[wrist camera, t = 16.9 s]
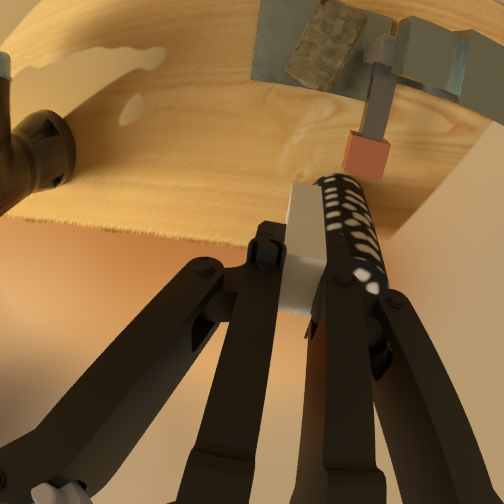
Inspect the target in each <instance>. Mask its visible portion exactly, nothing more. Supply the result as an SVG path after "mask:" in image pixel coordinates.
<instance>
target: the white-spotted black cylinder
mask: <svg viewBox="0 0 504 504" xmlns="http://www.w3.org/2000/svg"><path fill="white" fill-rule="evenodd" d="M313 185H316V186H321V190H322V201H323V212H324V225H325V231H328V232H333V233H338V234H342V235H343V236H344V238H345V239H346V240H347V242H348V250H349V255H350V261H351V267H352V273H353V274H354V275H355V276H356V277H357V278H358V280H359V282H360V287H362V288H363V289H365V290H366V291H368V292H371V293H373V294H376V295H379V293H380V292H381V291H382V290H385V289H389V282H388V278H387V273H386V270H385V265H384V261H383V258H382V254H381V250H380V246H379V243H378V239H377V235H376V232H375V228H374V225H373V222H372V218H371V215H370V212H369V208H368V205H367V202H366V199H365V196H364V193H363V190H362V188H361V186H360V185H359V184H358V183H357V181H355V180H354V179H353V178H351V177H349V176H347V175H343V174H329V175H326V176H323V177H321V178H320V179H318V180H317V181H316V182H315V183H314V184H313ZM310 314H311V315H312V309H311V312H310Z"/></svg>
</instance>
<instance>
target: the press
mask: <svg viewBox="0 0 504 504" xmlns="http://www.w3.org/2000/svg"><path fill="white" fill-rule="evenodd" d="M318 2H319V0H261V5H260V12H259V19H258V26H257V34H256V41H255V49H254V56H253V64H252V72H251V80H258V81H265V82H272V83H279V84H285V85H291V86H297V87H303V88H308V87H306V86H304V85H302V84H301V83H300V82H299V81H297V80H296V79H294V78H293V77H292V76H291V75H290V74H288V73H287V72H286V71H285V67H286V64H287V62H288V60H289V58H290V56H291V54H292V52H293V50H294V48H295V46H296V45H297V43H298V41H299V39H300V37H301V35H302V33H303V31H304V29H305V27H306V25H307V23H308V21H309V19H310V17H311V15H312V13H313V11H314V9H315V7H316V6H317V4H318ZM356 9H357V8H356ZM358 10H360V11H362V12H363V13H365V14H366V16H367V19H368V21H367V23H366V25H365V27H364V29H363V31H362V33H361V35H360V37H359V39H358V41H357V43H356V45H355V47H354V48H353V50H352V52H351V54H350V56H349V57H348V59H347V61H346V62H345V64H344V66H343V68H342V70H341V72H340V74H339V76H338V77H337V79H336V81H335V83H334V85H333V87H332V90H331V91H329V92H328V93H332V94H337V95H341V96H345V97H349V98H353V99H357V100H361V101H365V102H366V97H367V92H368V87H369V82H370V77H371V72H372V67H373V64H370V63H367V62H363V59H364V53H365V47H366V42H367V41H368V40H370V39H373V38H376V37H378V36H381V35H384V34H388V35H391V29H392V22H393V19H392V18H389V17H386V16H383V15H379V14H376V13H372V12H368V11H365V10H361V9H358ZM391 73H393V74H396V75H398V76H397V80H396V83H397V84H400V85H403V86H406V87H409V88H412V89H415V90H418V91H421V92H424V93H427V94H430V95H433V96H436V97H438V98H441V99H444V100H446V101H449V102H452V103H454V104H457V105H459V106H462V107H464V108H466V109H469V110H471V111H474V112H476V113H478V114H480V115H483V116H485V117H487V118H489V119H491V120H493V121H496V122H498V123H500V124H502V125H504V47H503V46H502V45H500V44H498V43H496V42H495V41H493V40H491V39H489V38H487V37H486V36H484V35H482V34H480V33H478V32H476V31H474V30H472V29H471V30H462V31H454V32H452V31H450V30H448V29H445V28H443V27H441V26H438V25H436V24H433V23H431V22H428V21H426V20H423V19H420V18H418V17H415V16H410V17H408V18H406V19H403V20H401V21H400V24H399V30H398V36H397V42H396V48H395V54H394V59H393V65H392V70H391ZM308 89H311V88H308ZM313 90H314V89H313Z"/></svg>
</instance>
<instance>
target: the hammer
mask: <svg viewBox="0 0 504 504" xmlns="http://www.w3.org/2000/svg"><path fill="white" fill-rule="evenodd" d="M396 42H397V37H395V36H392V35H388V34H384V35H381V36H378V37H376V38H373V39H370V40H368V41H367V42H366V47H365V53H364V59H363V62H367V63H370V64H373V67H372V72H371V77H370V82H369V87H368V92H367V97H366V102H365V107H364V111H363V116H362V120H361V125H360V129H359V132H356V131H352V130H350V133H349V138H348V142H347V146H346V151H345V155H344V159H343V163H342V167H343V171H344V172H346V173H350V174H354V175H358V176H362V177H366V178H370V179H374V180H378V181H381V178H382V175H383V172H384V168H385V165H386V161H387V158H388V154H389V150H390V147H391V145H390V143H389V142H388V141H387V140H386V139H383V137H384V133H385V129H386V125H387V121H388V117H389V112H390V108H391V104H392V99H393V95H394V90H395V85H396V80H397V76H398V75H396V74H393V73H391V70H392V65H393V59H394V54H395V48H396Z"/></svg>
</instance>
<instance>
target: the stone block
mask: <svg viewBox="0 0 504 504" xmlns="http://www.w3.org/2000/svg"><path fill="white" fill-rule="evenodd" d="M367 21H368V19H367V16H366V14H365V13H363V12H362V11H360V10H358V9H356V8H354V7H352V6H350V5H348V4H345V3H343V2H341V1H338V0H319V2H318V4H317V6H316V7H315V9H314V11H313V13H312V15H311V17H310V19H309V21H308V23H307V25H306V27H305V29H304V31H303V33H302V35H301V37H300V39H299V41H298V43H297V45H296V46H295V48H294V50H293V52H292V54H291V56H290V58H289V60H288V62H287V64H286V67H285V71H286V72H287V73H288V74H290V75H291V76H292V77H293V78H294V79H296V80H297V81H299V82H300V83H301V84H302V85H304V86H306V87H308V88H311V89H314V90H317V91H322V92H329V91H331V90H332V87H333V85H334V83H335V81H336V79H337V77H338V76H339V74H340V72H341V70H342V68H343V66H344V64H345V62H346V61H347V59H348V57H349V56H350V54H351V52H352V50H353V48H354V47H355V45H356V43H357V41H358V39H359V37H360V35H361V33H362V31H363V29H364V27H365V25H366V23H367Z"/></svg>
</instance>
